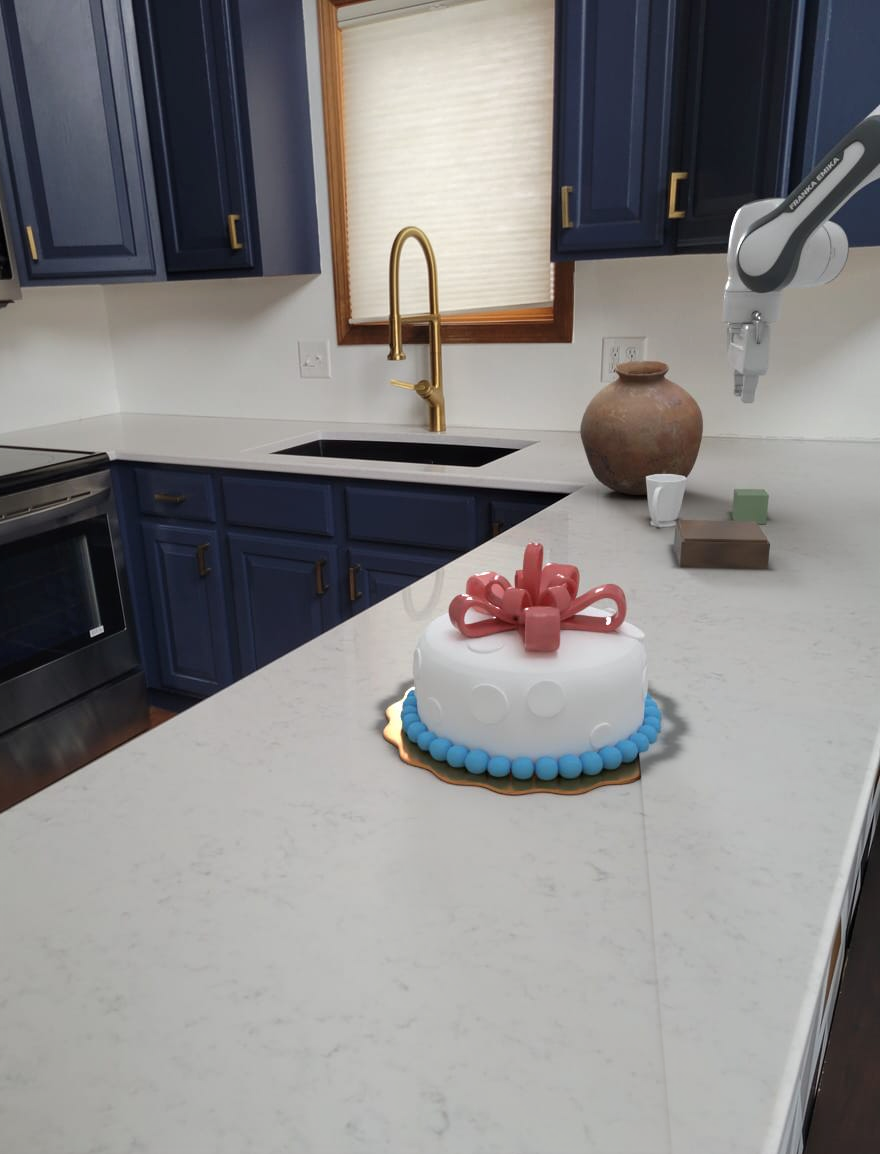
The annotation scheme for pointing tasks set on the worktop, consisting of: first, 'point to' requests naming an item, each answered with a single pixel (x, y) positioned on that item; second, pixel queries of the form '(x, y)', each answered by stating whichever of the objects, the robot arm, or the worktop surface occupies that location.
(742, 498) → the block
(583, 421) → the pottery
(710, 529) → the block
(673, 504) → the cup
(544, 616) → the wedding cake
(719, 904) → the worktop surface
